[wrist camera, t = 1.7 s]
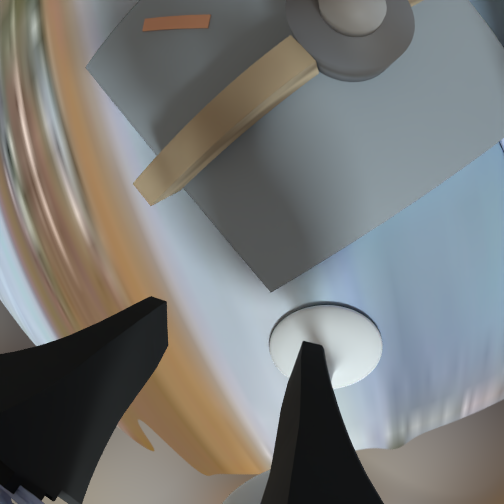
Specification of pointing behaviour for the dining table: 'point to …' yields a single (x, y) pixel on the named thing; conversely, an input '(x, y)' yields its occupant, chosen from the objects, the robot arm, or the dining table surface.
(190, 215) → the dining table surface
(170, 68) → the grey flat slab
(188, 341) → the dining table surface
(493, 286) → the dining table surface
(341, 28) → the curved bar with hub
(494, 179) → the dining table surface
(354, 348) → the wineglass
